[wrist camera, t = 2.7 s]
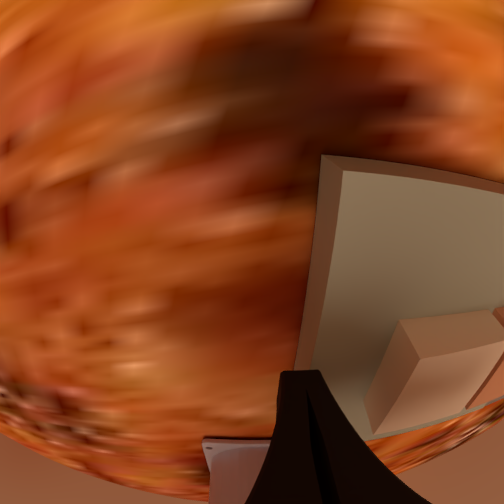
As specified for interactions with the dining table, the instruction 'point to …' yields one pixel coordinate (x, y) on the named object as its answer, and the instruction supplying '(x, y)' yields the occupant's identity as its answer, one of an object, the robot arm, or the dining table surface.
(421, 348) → the cream tile
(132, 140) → the dining table surface
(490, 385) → the terracotta tile
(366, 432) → the beige square slab
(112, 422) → the dining table surface
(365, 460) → the robot arm
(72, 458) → the dining table surface
